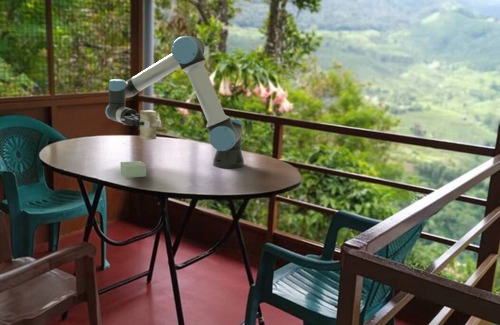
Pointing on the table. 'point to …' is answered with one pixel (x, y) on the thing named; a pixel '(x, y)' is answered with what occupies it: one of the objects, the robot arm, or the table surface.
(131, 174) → the sage block
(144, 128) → the birch block
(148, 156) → the table surface
